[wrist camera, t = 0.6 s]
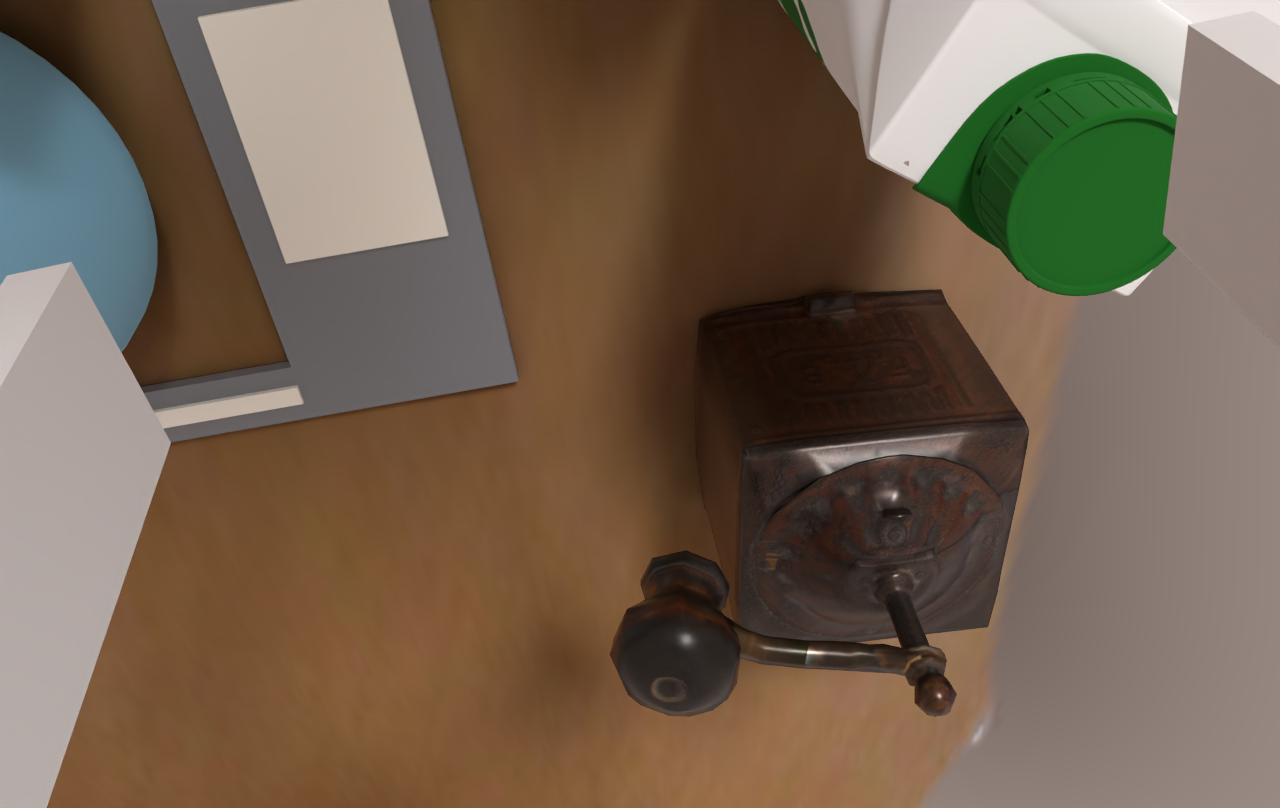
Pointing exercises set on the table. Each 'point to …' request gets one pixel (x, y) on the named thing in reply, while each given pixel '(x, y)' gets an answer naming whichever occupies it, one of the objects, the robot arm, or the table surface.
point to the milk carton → (1026, 118)
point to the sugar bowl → (71, 191)
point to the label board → (338, 209)
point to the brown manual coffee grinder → (832, 500)
